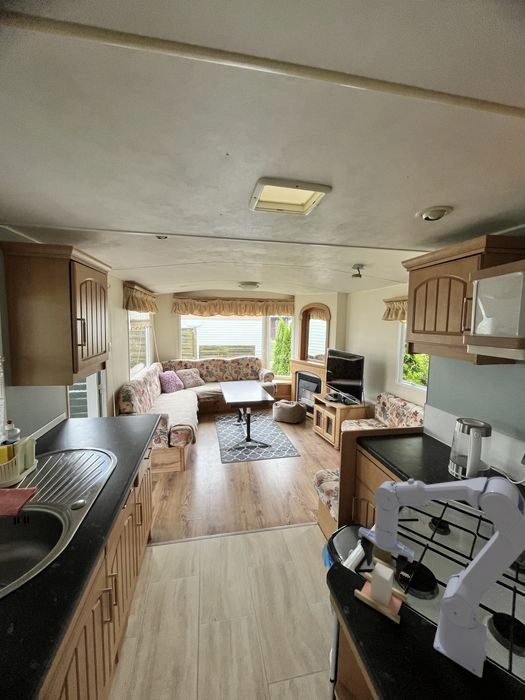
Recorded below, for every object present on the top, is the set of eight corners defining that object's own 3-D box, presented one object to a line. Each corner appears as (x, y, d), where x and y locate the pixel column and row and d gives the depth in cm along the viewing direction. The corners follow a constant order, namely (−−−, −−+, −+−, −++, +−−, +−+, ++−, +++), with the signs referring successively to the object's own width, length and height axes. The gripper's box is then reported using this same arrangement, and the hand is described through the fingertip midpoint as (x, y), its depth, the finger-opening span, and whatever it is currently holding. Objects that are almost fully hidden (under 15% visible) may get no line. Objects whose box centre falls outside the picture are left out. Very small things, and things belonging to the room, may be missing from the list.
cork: (386, 547, 103) (388, 518, 102) (394, 561, 97) (397, 530, 96) (369, 547, 103) (371, 517, 102) (376, 561, 97) (379, 530, 96)
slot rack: (413, 582, 89) (414, 577, 89) (398, 623, 77) (399, 618, 77) (374, 561, 97) (374, 557, 97) (354, 595, 84) (354, 590, 84)
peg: (391, 596, 84) (393, 570, 84) (386, 607, 81) (388, 580, 80) (375, 587, 87) (377, 561, 86) (370, 597, 84) (372, 571, 83)
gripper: (418, 530, 80) (414, 576, 82) (365, 508, 90) (362, 549, 91) (411, 544, 75) (407, 593, 76) (356, 519, 84) (353, 563, 85)
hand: (382, 571), depth 83 cm, fingers open, 7 cm apart
